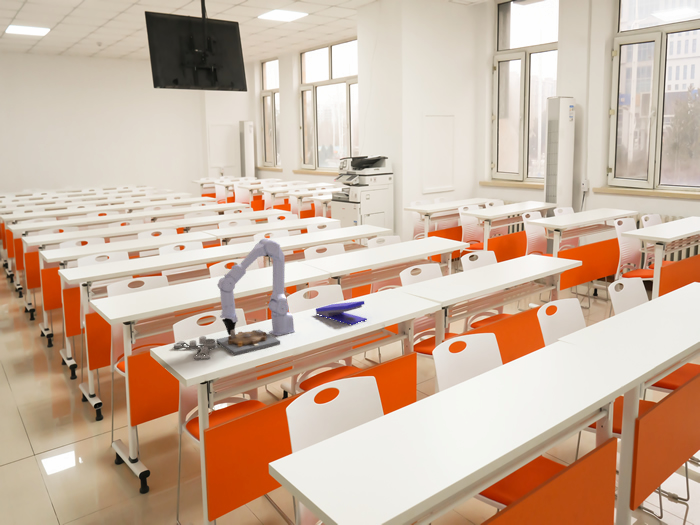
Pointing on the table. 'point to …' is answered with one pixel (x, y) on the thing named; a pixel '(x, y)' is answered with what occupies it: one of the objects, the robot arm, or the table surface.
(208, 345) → the pulley system
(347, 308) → the stapler
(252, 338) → the brown flat round piece
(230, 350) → the board
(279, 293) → the robot arm
